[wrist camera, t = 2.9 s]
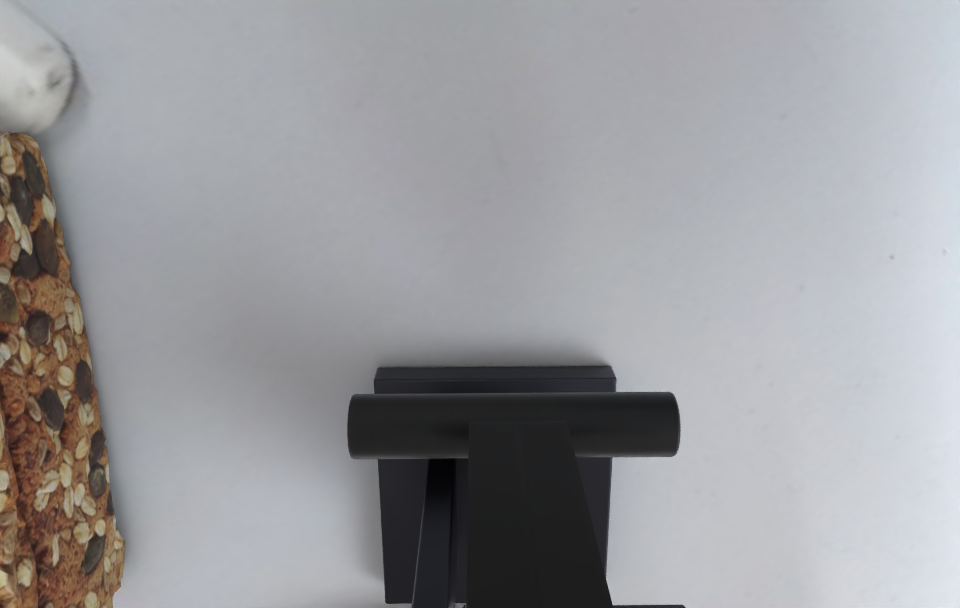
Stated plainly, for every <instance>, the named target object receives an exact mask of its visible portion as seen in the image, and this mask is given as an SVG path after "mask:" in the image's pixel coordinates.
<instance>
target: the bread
mask: <svg viewBox="0 0 960 608" xmlns="http://www.w3.org/2000/svg"><path fill="white" fill-rule="evenodd" d="M55 214H56V206H55V202H54V199H53V195H52V192H51V189H50V185H49V179H48V173H47V168H46V165H45V162H44V159H43V156H42V153H41V150H40V149H39V146H38V143H37V142H36V141H35V140H34V139H33V138H32V137H30V136H28V135H26V134H24V133H8V131H3V132H0V608H113V601H112V598H113V595H114V593H115V592H116V591H117V590H118V589H119V588H120V587H121V583H120V580H121V578H122V575H123V567H124V550H125V541H124V539H123V538H122V537H121V535H120V534H119V531H118V528H117V526H116V518H115V514H114V509H113V504H112V497H111V491H110V482H109V461H108V454H107V448H106V446H105V444H104V442H105V439H106V437H105V433H104V431H103V429H102V427H101V416H100V411H99V406H98V391H97V390H96V389H95V387H94V379H93V371H92V364H91V358H90V351H89V345H88V339H87V334H86V330H85V325H84V320H83V316H82V310H81V303H80V297H79V295H78V294H77V292H76V290H75V288H74V287H73V285H72V280H71V274H70V266H71V262H70V258H69V256H68V255H67V253H66V252H65V246H64V236H63V230H62V227H61V226H60V224H59V223H58V221H57V219H56V218H55Z"/></svg>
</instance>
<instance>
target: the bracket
mask: <svg viewBox="0 0 960 608" xmlns="http://www.w3.org/2000/svg"><path fill="white" fill-rule="evenodd" d="M587 392H616V377H615V374H614V372H613V370H612V367H611V366H579V367H444V368H378V369H377V372H376V375H375V379H374V393H375V394H453V393H587ZM576 461H577V465H578V469H579V473H580V477H581V481H582V485H583V489H584V493H585V497H586V501H587V505H588V509H589V513H590V517H591V521H592V525H593V529H594V533H595V537H596V541H597V545H598V549H599V553H600V557H601V561H602V565H603V569H604V573H605V577H606V566H607V547H608V528H609V510H610V491H611V472H612V457H577V458H576ZM378 470H379V489H380V508H381V527H382V546H383V565H384V584H385V602H386V603H387V604H402V603H412V608H455V603H466V601H467V528H468V458H448V459H378Z"/></svg>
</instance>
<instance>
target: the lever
mask: <svg viewBox="0 0 960 608" xmlns="http://www.w3.org/2000/svg"><path fill="white" fill-rule="evenodd" d="M490 421H567V424H568V428H569V432H570V436H571V440H572V444H573V449H574V453H575V457H576V458H577V457H673V456H675V455H676V453H677V451H678V448H679V443H680V415H679V408H678V404H677V401H676V398H675V396H674V395H673V393H671V392H587V393H453V394H355V395H353V396H352V398H351V400H350V404H349V410H348V423H347V436H348V448H349V453H350V456H351V458H353V459H448V458H468V455H469V422H490ZM463 608H466V605H464V607H463Z"/></svg>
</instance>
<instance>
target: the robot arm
mask: <svg viewBox="0 0 960 608" xmlns="http://www.w3.org/2000/svg"><path fill="white" fill-rule="evenodd" d="M466 608H685V607H684V606H683V605H612V601H611V597H610V593H609V589H608V585H607V581H606V577H605V573H604V569H603V565H602V561H601V557H600V553H599V549H598V545H597V541H596V537H595V533H594V529H593V525H592V521H591V517H590V513H589V509H588V505H587V501H586V497H585V493H584V489H583V485H582V481H581V477H580V473H579V469H578V465H577V461H576V457H575V453H574V449H573V444H572V440H571V436H570V432H569V428H568V424H567V421H490V422H469V455H468V528H467V601H466Z"/></svg>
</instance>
